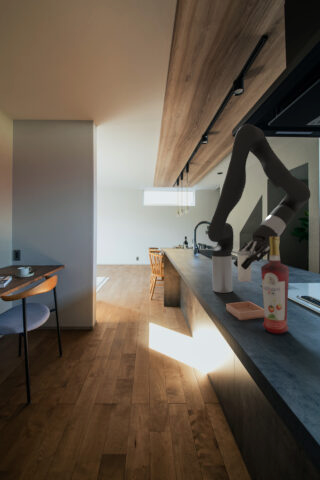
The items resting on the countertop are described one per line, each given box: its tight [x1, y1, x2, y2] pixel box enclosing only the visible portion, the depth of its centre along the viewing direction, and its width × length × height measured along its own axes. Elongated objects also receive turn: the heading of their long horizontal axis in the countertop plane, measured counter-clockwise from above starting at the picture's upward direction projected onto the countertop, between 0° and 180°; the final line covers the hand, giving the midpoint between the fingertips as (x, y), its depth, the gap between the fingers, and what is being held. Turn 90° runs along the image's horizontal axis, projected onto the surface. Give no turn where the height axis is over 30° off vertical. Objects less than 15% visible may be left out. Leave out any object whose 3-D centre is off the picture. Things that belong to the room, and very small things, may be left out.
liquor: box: [260, 236, 290, 335], centre depth 66 cm, size 7×7×28 cm
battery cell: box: [236, 249, 252, 283], centre depth 80 cm, size 4×4×11 cm
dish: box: [225, 300, 264, 321], centre depth 81 cm, size 10×10×2 cm
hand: (239, 266), depth 79 cm, fingers closed on battery cell, 4 cm apart
